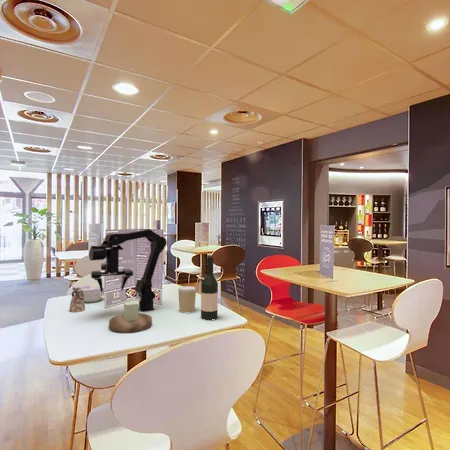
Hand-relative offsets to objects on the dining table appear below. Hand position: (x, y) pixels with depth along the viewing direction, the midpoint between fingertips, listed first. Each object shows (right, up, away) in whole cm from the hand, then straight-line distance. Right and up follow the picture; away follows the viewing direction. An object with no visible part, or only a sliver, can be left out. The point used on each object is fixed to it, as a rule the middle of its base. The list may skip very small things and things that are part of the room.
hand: (112, 291), depth 147 cm
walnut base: (+14, -12, -14) cm, 23 cm away
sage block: (+14, -9, -14) cm, 22 cm away
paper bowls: (-23, -12, +29) cm, 39 cm away
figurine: (-21, -12, +9) cm, 26 cm away
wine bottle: (+47, -13, -1) cm, 49 cm away
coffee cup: (+35, -13, +11) cm, 39 cm away
